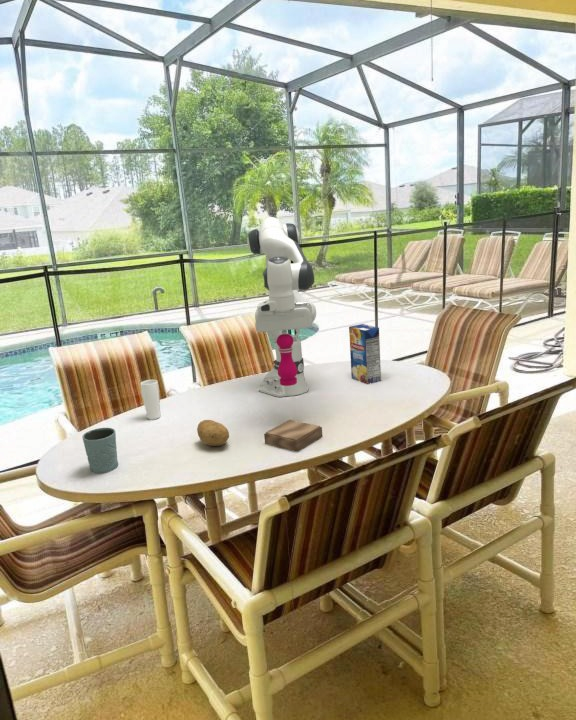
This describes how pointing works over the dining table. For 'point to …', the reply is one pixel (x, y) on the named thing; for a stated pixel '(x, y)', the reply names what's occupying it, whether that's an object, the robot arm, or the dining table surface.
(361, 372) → the juice carton
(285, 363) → the pepper mill
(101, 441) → the green textured cup
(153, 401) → the drinking glass
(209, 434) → the potato
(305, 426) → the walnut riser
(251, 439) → the dining table surface
